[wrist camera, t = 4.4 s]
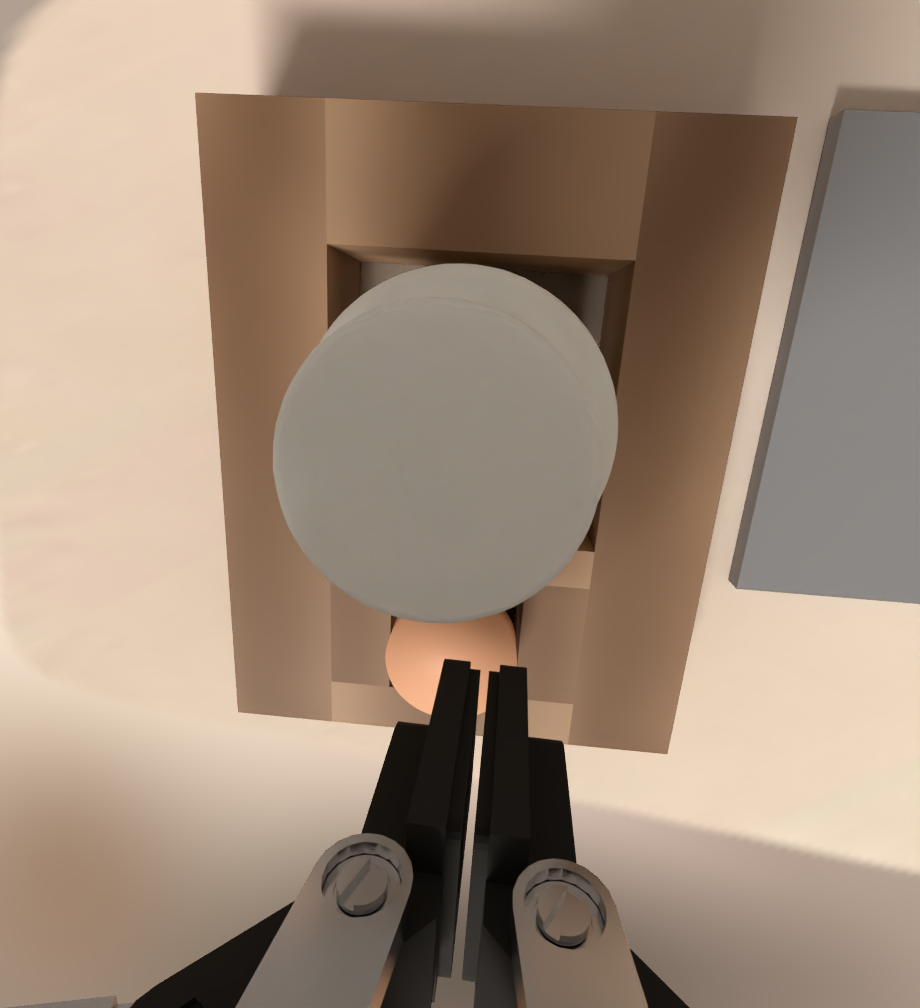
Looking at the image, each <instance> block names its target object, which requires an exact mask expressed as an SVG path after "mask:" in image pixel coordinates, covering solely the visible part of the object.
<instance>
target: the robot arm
mask: <svg viewBox="0 0 920 1008" xmlns="http://www.w3.org/2000/svg"><path fill="white" fill-rule="evenodd" d="M480 672H481V670H477V669H471V661H462V660H453V659H444V662H443V667H442V671H441V675H440V680H439V684H438V688H437V692H436V697H435V701H434V705H433V710H432V714H431V718H430V723H429V725H426V724H417V723H409V722H401V721H398V722H397V724H396V726H395V729H394V732H393V735H392V739H391V742H390V745H389V748H388V751H387V754H386V757H385V761H384V764H383V767H382V770H381V773H380V777H379V780H378V783H377V786H376V789H375V793H374V795H373V799H372V802H371V805H370V808H369V811H368V814H367V818H366V821H365V824H364V827H363V830H362V834H357V835H352V836H349V837H347V838H344V839H342V840H340V841H338V842H336V843H335V844H334V845H332V846H331V847H330V848H328V849H327V850H326V851H325V852H324V853H323V855H322V856H321V857H320V859H319V860H318V861H317V863H316V864H315V866H314V868H313V870H312V872H311V873H310V875H309V877H308V879H307V880H306V882H305V884H304V886H303V887H302V889H301V891H300V893H299V895H298V897H297V898H296V900H295V901H294V902H292V903H290V904H289V905H287V906H285V907H284V908H282V909H281V910H279V911H277V912H276V913H274V914H272V915H271V916H269V917H267V918H266V919H264V920H263V921H261V922H259V923H258V924H256V925H255V926H253V927H251V928H249V929H248V930H246V931H245V932H243V933H241V934H240V935H238V936H236V937H235V938H233V939H231V940H230V941H228V942H227V943H225V944H224V945H222V946H220V947H219V948H217V949H215V950H213V951H212V952H210V953H209V954H207V955H205V956H204V957H202V958H200V959H199V960H197V961H195V962H194V963H192V964H191V965H189V966H187V967H186V968H184V969H182V970H181V971H179V972H177V973H176V974H174V975H172V976H171V977H169V978H168V979H166V980H164V981H163V982H161V983H159V984H158V985H156V986H155V987H153V988H152V989H151V990H150V991H148V992H147V993H145V994H144V995H143V996H142V997H140V998H139V999H138V1000H136V1001H135V1002H134V1003H126V1004H118V1003H117V997H116V996H107V997H98V998H90V999H81V1000H71V1001H62V1002H53V1003H44V1004H35V1005H27V1006H17V1007H8V1008H431V1003H432V1002H434V1000H435V992H436V984H437V977H438V976H439V977H446V978H451V971H452V962H453V953H454V944H455V934H456V933H455V932H456V925H457V916H458V906H459V897H460V888H461V878H462V868H463V859H464V850H465V841H466V831H467V821H468V812H469V803H470V794H471V784H472V772H473V759H474V747H475V735H476V722H477V710H478V697H479V685H480ZM462 980H465V981H471V982H475V996H474V1008H689V1007H688V1006H687V1005H686V1004H685V1003H684V1002H683V1001H682V1000H681V999H680V998H679V997H678V996H677V995H676V994H675V993H674V992H673V991H672V990H671V989H670V988H669V987H668V986H667V985H666V984H665V983H664V982H663V981H662V980H661V979H660V978H659V977H658V976H657V975H656V974H655V973H654V972H653V971H652V970H651V969H650V968H649V967H648V966H647V965H646V964H645V963H644V962H643V961H642V960H641V959H640V958H639V957H638V956H637V955H636V954H635V953H634V952H633V951H632V950H631V949H630V948H629V945H628V942H627V939H626V936H625V933H624V930H623V926H622V923H621V920H620V917H619V914H618V911H617V908H616V905H615V903H614V901H613V899H612V896H611V894H610V892H609V890H608V889H607V888H606V887H605V885H604V884H603V883H602V882H601V881H600V879H599V878H598V877H597V876H596V875H594V874H593V873H591V872H590V871H589V870H587V869H586V868H585V867H583V866H580V865H578V864H576V854H575V845H574V836H573V826H572V817H571V808H570V798H569V789H568V779H567V770H566V761H565V751H564V745H563V742H562V741H560V740H551V739H543V738H535V737H528V690H527V668H526V667H517V666H508V665H500V671H499V672H495V671H489V678H488V689H487V700H486V711H485V722H484V733H483V744H482V755H481V766H480V777H479V788H478V799H477V810H476V821H475V833H474V845H473V855H472V867H471V879H470V891H469V903H468V914H467V927H466V938H465V949H464V961H463V973H462Z"/></svg>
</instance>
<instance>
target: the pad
mask: <svg viewBox="0 0 920 1008" xmlns="http://www.w3.org/2000/svg"><path fill="white" fill-rule="evenodd" d="M729 581H730V582H731V583H732V584H733V585H734V586H735V588H736V589H746V590H758V591H770V592H782V593H794V594H806V595H818V596H831V597H843V598H855V599H867V600H879V601H891V602H903V603H915V604H920V112H898V111H873V110H848V109H844V110H843V111H841V112H840V113H838V114H837V115H835V116H834V117H832V118H831V119H830V120H829V125H828V129H827V134H826V139H825V143H824V148H823V152H822V157H821V161H820V166H819V170H818V175H817V180H816V184H815V189H814V193H813V198H812V202H811V207H810V211H809V216H808V221H807V225H806V230H805V234H804V239H803V243H802V248H801V252H800V257H799V262H798V266H797V271H796V275H795V280H794V284H793V289H792V293H791V298H790V303H789V307H788V312H787V316H786V321H785V325H784V330H783V334H782V339H781V344H780V348H779V353H778V357H777V362H776V366H775V371H774V375H773V380H772V385H771V389H770V394H769V398H768V403H767V407H766V412H765V416H764V421H763V426H762V430H761V435H760V439H759V444H758V448H757V453H756V457H755V462H754V466H753V471H752V476H751V480H750V485H749V489H748V494H747V498H746V503H745V507H744V512H743V517H742V521H741V526H740V530H739V535H738V539H737V544H736V548H735V553H734V558H733V562H732V567H731V571H730V576H729Z"/></svg>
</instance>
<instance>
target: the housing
mask: <svg viewBox="0 0 920 1008" xmlns="http://www.w3.org/2000/svg"><path fill="white" fill-rule="evenodd" d="M195 98H196V113H197V127H198V141H199V156H200V170H201V185H202V199H203V213H204V228H205V242H206V256H207V271H208V285H209V300H210V314H211V328H212V343H213V357H214V372H215V386H216V400H217V415H218V429H219V444H220V458H221V472H222V487H223V501H224V515H225V530H226V544H227V559H228V573H229V587H230V602H231V616H232V631H233V645H234V659H235V674H236V688H237V703H238V712H243V713H253V714H263V715H273V716H283V717H294V718H304V719H314V720H324V721H334V722H345V723H355V724H365V725H375V726H385V727H395V726H396V724H397V722H398V721H401V722H409V723H417V724H426V725H429V723H430V718H431V715H430V714H427V713H425V712H423V711H421V710H419V709H417V708H415V707H414V706H412V705H411V704H409V703H408V702H407V701H406V700H405V699H404V698H402V696H401V695H400V694H399V693H398V692H397V690H396V689H395V688H394V686H393V684H392V682H391V680H390V678H389V675H388V673H387V668H386V661H385V655H386V647H387V643H388V640H389V637H390V635H391V632H392V629H393V627H394V624H395V621H396V619H397V617H395V616H392V615H388V614H385V613H383V612H380V611H378V610H375V609H373V608H370V607H368V606H366V605H365V604H363V603H361V602H359V601H357V600H356V599H354V598H352V597H351V596H349V595H348V594H346V593H345V592H343V591H342V590H340V589H339V588H337V587H336V586H335V585H334V584H332V583H331V582H330V581H329V580H328V579H327V578H326V577H325V576H324V575H323V574H322V573H321V572H320V571H319V570H318V569H317V568H316V567H315V566H314V565H313V564H312V562H311V561H310V560H309V559H308V557H307V556H306V555H305V554H304V552H303V551H302V549H301V548H300V546H299V545H298V543H297V541H296V540H295V538H294V536H293V535H292V533H291V531H290V529H289V527H288V525H287V523H286V520H285V517H284V515H283V512H282V509H281V506H280V502H279V498H278V494H277V490H276V484H275V479H274V474H273V440H274V433H275V426H276V421H277V418H278V415H279V411H280V408H281V405H282V401H283V398H284V396H285V394H286V392H287V389H288V387H289V385H290V383H291V382H292V380H293V378H294V376H295V375H296V373H297V372H298V370H299V368H300V367H301V365H302V364H303V363H304V361H305V360H306V358H307V357H308V356H309V354H310V353H311V352H312V350H313V349H314V348H315V347H316V346H317V345H318V344H319V343H320V341H321V340H322V338H323V336H324V335H325V333H326V332H327V331H328V329H329V328H330V326H331V325H332V324H333V322H334V321H335V320H336V319H337V318H338V317H339V316H340V314H341V313H342V312H343V311H344V310H345V309H346V308H348V307H349V306H350V305H351V304H352V303H353V302H354V301H355V300H357V299H358V298H359V297H360V261H361V262H379V263H397V264H415V265H439V264H459V263H461V264H477V265H483V266H488V267H493V268H498V269H505V270H523V271H541V272H559V273H577V274H595V275H609V279H608V287H607V295H606V303H605V311H604V318H603V326H602V334H601V342H600V351H601V353H602V355H603V357H604V359H605V362H606V364H607V367H608V370H609V373H610V376H611V379H612V382H613V385H614V390H615V395H616V401H617V411H618V439H617V446H616V453H615V458H614V462H613V466H612V469H611V473H610V476H609V479H608V481H607V484H606V487H605V489H604V491H603V493H602V495H601V497H600V499H599V501H598V503H597V507H596V511H595V514H594V517H593V520H592V522H591V525H590V528H589V530H588V532H587V534H586V536H585V538H584V540H583V542H582V543H581V545H580V546H579V548H578V549H577V551H576V553H575V554H574V556H573V557H572V558H571V560H570V561H569V562H568V563H567V565H566V566H565V567H564V568H563V569H562V570H561V572H560V573H559V574H558V575H557V576H556V577H555V578H554V579H553V580H552V581H551V582H550V583H548V584H547V585H546V586H545V587H544V588H543V589H541V590H540V591H539V592H537V593H536V594H535V595H533V596H532V597H530V598H529V599H527V600H525V601H523V602H522V603H520V604H518V605H516V606H515V612H514V622H513V627H514V630H515V636H516V651H517V667H526V668H527V690H528V737H535V738H543V739H551V740H560V741H562V742H563V744H569V745H579V746H589V747H600V748H610V749H620V750H630V751H640V752H651V753H661V754H667V753H668V748H669V743H670V738H671V734H672V729H673V724H674V719H675V714H676V709H677V704H678V699H679V694H680V690H681V685H682V680H683V675H684V670H685V665H686V660H687V655H688V651H689V646H690V641H691V636H692V631H693V626H694V621H695V616H696V611H697V607H698V602H699V597H700V592H701V587H702V582H703V577H704V572H705V568H706V563H707V558H708V553H709V548H710V543H711V538H712V533H713V528H714V524H715V519H716V514H717V509H718V504H719V499H720V494H721V489H722V484H723V480H724V475H725V470H726V465H727V460H728V455H729V450H730V445H731V441H732V436H733V431H734V426H735V421H736V416H737V411H738V406H739V401H740V397H741V392H742V387H743V382H744V377H745V372H746V367H747V362H748V358H749V353H750V348H751V343H752V338H753V333H754V328H755V323H756V318H757V314H758V309H759V304H760V299H761V294H762V289H763V284H764V279H765V274H766V270H767V265H768V260H769V255H770V250H771V245H772V240H773V235H774V231H775V226H776V221H777V216H778V211H779V206H780V201H781V196H782V191H783V187H784V182H785V177H786V172H787V167H788V162H789V157H790V152H791V148H792V143H793V138H794V133H795V128H796V123H797V118H798V117H783V116H758V115H733V114H709V113H684V112H659V111H635V110H610V109H585V108H561V107H536V106H511V105H487V104H462V103H437V102H413V101H388V100H364V99H339V98H314V97H290V96H265V95H240V94H216V93H195ZM484 722H485V712H483V713H481V714H478V715H477V722H476V735H477V736H483V733H484Z"/></svg>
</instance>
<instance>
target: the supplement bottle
mask: <svg viewBox="0 0 920 1008" xmlns="http://www.w3.org/2000/svg"><path fill="white" fill-rule="evenodd" d="M617 439H618V411H617V401H616V395H615V390H614V385H613V382H612V379H611V376H610V373H609V370H608V367H607V364H606V362H605V359H604V357H603V355H602V353H601V351H600V349H599V347H598V345H597V343H596V342H595V340H594V338H593V337H592V335H591V334H590V332H589V331H588V329H587V328H586V327H585V325H584V324H583V323H582V322H581V321H580V319H579V318H578V317H577V316H576V315H575V314H574V313H573V312H572V311H571V310H570V309H569V308H568V307H567V306H566V305H565V304H564V303H563V302H561V301H560V300H559V299H558V298H556V297H555V296H554V295H552V294H551V293H550V292H548V291H547V290H545V289H543V288H542V287H540V286H538V285H537V284H535V283H533V282H531V281H530V280H528V279H526V278H524V277H521V276H519V275H516V274H514V273H511V272H508V271H505V270H502V269H498V268H493V267H488V266H483V265H477V264H461V263H459V264H439V265H432V266H426V267H422V268H418V269H414V270H411V271H408V272H405V273H402V274H399V275H396V276H394V277H392V278H390V279H388V280H386V281H384V282H382V283H380V284H378V285H377V286H375V287H373V288H372V289H370V290H369V291H367V292H366V293H364V294H363V295H361V296H360V297H359V298H358V299H357V300H355V301H354V302H353V303H352V304H351V305H350V306H349V307H348V308H346V309H345V310H344V311H343V312H342V313H341V314H340V316H339V317H338V318H337V319H336V320H335V321H334V322H333V324H332V325H331V326H330V328H329V329H328V331H327V332H326V333H325V335H324V336H323V338H322V340H321V341H320V343H319V344H318V345H317V346H316V347H315V348H314V349H313V350H312V352H311V353H310V354H309V356H308V357H307V358H306V360H305V361H304V363H303V364H302V365H301V367H300V368H299V370H298V372H297V373H296V375H295V376H294V378H293V380H292V382H291V383H290V385H289V387H288V389H287V392H286V394H285V396H284V398H283V401H282V405H281V408H280V411H279V415H278V418H277V421H276V426H275V433H274V440H273V474H274V479H275V484H276V490H277V494H278V498H279V502H280V506H281V509H282V512H283V515H284V517H285V520H286V523H287V525H288V527H289V529H290V531H291V533H292V535H293V536H294V538H295V540H296V541H297V543H298V545H299V546H300V548H301V549H302V551H303V552H304V554H305V555H306V556H307V557H308V559H309V560H310V561H311V562H312V564H313V565H314V566H315V567H316V568H317V569H318V570H319V571H320V572H321V573H322V574H323V575H324V576H325V577H326V578H327V579H328V580H329V581H330V582H331V583H332V584H334V585H335V586H336V587H337V588H339V589H340V590H342V591H343V592H345V593H346V594H348V595H349V596H351V597H352V598H354V599H356V600H357V601H359V602H361V603H363V604H365V605H366V606H368V607H370V608H373V609H375V610H378V611H380V612H383V613H385V614H388V615H392V616H395V617H399V618H402V619H407V620H413V621H418V622H428V623H457V622H465V621H470V620H475V619H480V618H483V617H486V616H490V615H494V614H497V613H500V612H503V611H505V610H508V609H510V608H512V607H514V606H516V605H518V604H520V603H522V602H523V601H525V600H527V599H529V598H530V597H532V596H533V595H535V594H536V593H537V592H539V591H540V590H541V589H543V588H544V587H545V586H546V585H547V584H548V583H550V582H551V581H552V580H553V579H554V578H555V577H556V576H557V575H558V574H559V573H560V572H561V570H562V569H563V568H564V567H565V566H566V565H567V563H568V562H569V561H570V560H571V558H572V557H573V556H574V554H575V553H576V551H577V549H578V548H579V546H580V545H581V543H582V542H583V540H584V538H585V536H586V534H587V532H588V530H589V528H590V525H591V522H592V520H593V517H594V514H595V511H596V507H597V503H598V501H599V499H600V497H601V495H602V493H603V491H604V489H605V487H606V484H607V481H608V479H609V476H610V473H611V469H612V466H613V462H614V458H615V453H616V446H617Z"/></svg>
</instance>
